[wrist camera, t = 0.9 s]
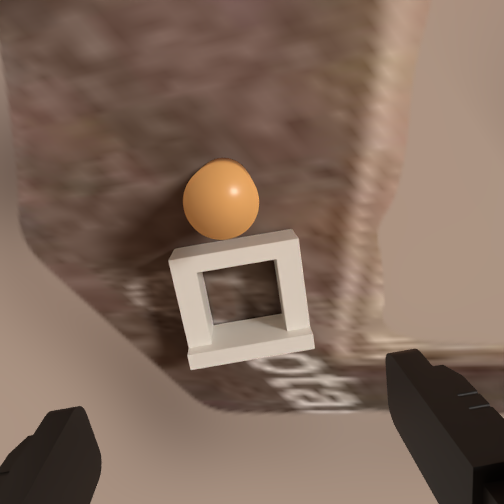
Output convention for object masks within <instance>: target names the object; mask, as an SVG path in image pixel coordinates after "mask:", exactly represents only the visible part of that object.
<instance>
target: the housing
mask: <svg viewBox="0 0 504 504" xmlns="http://www.w3.org/2000/svg"><path fill="white" fill-rule="evenodd" d="M268 260H274V265H275V271H276V278H277V284H278V291H279V298H280V304H281V311H282V314H276V315H270V316H264V317H258V318H253V319H247V320H241V321H235V322H229V323H223V324H218V325H213V321H212V316H211V311H210V306H209V301H208V297H207V292H206V287H205V282H204V278H203V273H202V272H204V271H210V270H216V269H221V268H227V267H233V266H239V265H245V264H251V263H257V262H263V261H268ZM168 262H169V266H170V270H171V274H172V279H173V283H174V287H175V291H176V296H177V300H178V304H179V308H180V313H181V317H182V321H183V325H184V330H185V334H186V338H187V343H188V347H189V349H188V354H187V356H188V360H189V365H190V369H191V370H194V369H199V368H205V367H211V366H217V365H223V364H228V363H234V362H240V361H246V360H252V359H257V358H263V357H269V356H275V355H281V354H286V353H292V352H298V351H304V350H310V349H315V346H314V338H313V333H312V330H311V328H310V323H309V315H308V307H307V300H306V292H305V284H304V277H303V269H302V261H301V253H300V246H299V238H298V237H297V236H296V234H295V233H294V231H293V230H292V229H288V230H282V231H276V232H270V233H264V234H258V235H252V236H246V237H241V238H235V239H229V240H223V241H217V242H211V243H205V244H199V245H193V246H187V247H182V248H176V249H174V251H173V252H172V254H171V256H170V258H169V260H168Z"/></svg>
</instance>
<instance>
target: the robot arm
mask: <svg viewBox="0 0 504 504" xmlns="http://www.w3.org/2000/svg"><path fill="white" fill-rule="evenodd" d="M386 376H387V393H388V405H389V410H390V414H391V417H392V420H393V422H394V425H395V427H396V429H397V431H398V432H399V434H400V436H401V438H402V439H403V441H404V443H405V445H406V447H407V448H408V450H409V452H410V454H411V455H412V457H413V459H414V461H415V463H416V464H417V466H418V468H419V470H420V471H421V473H422V475H423V477H424V478H425V480H426V482H427V484H428V486H429V487H430V489H431V491H432V493H433V494H434V496H435V498H436V500H437V502H438V503H439V504H504V418H503V417H502V416H501V415H500V414H499V413H498V412H497V411H496V410H495V409H494V408H493V407H490V405H489V403H488V402H487V401H486V400H485V399H484V398H483V396H482V395H481V394H478V393H477V390H476V389H475V388H474V387H473V386H472V385H471V384H470V383H469V382H468V381H467V380H466V379H465V378H464V377H463V376H462V375H460V374H459V373H457V372H455V371H453V370H451V369H450V368H448V367H446V366H444V365H438V366H432V365H431V364H430V363H429V361H428V360H427V359H426V358H425V357H424V356H423V355H422V353H421V352H420V351H419V350H417V349H410V350H405V351H399V352H393V353H388V354H387V355H386ZM100 473H101V453H100V450H99V447H98V444H97V442H96V439H95V436H94V433H93V430H92V428H91V425H90V422H89V419H88V416H87V414H86V412H85V410H84V408H83V407H81V406H78V407H72V408H66V409H60V410H55V411H50V412H49V413H48V414H47V415H46V416H45V417H44V419H43V421H42V422H41V424H40V425H39V427H38V428H37V430H36V431H35V433H34V434H33V435H31V436H28V437H27V438H26V439H25V440H24V441H22V442H21V443H20V444H19V445H18V446H17V447H16V448H15V449H14V450H13V451H12V452H11V453H9V455H8V456H7V457H6V459H5V460H4V462H3V463H2V465H1V466H0V504H90V502H91V499H92V497H93V494H94V491H95V488H96V486H97V483H98V481H99V477H100Z"/></svg>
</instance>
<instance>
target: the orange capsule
mask: <svg viewBox="0 0 504 504" xmlns="http://www.w3.org/2000/svg"><path fill="white" fill-rule="evenodd" d="M183 207H184V212H185V215H186V217H187V219H188V221H189V223H190V224H191V225H192V227H193V228H194V229H195V230H197V231H198V232H199V233H201V234H202V235H204V236H206V237H209V238H212V239H218V240H225V239H231V238H234V237H237V236H239V235H241V234H242V233H244V232H245V231H246V230H247V229H248V228H249V227H250V226H251V225H252V224H253V222H254V220H255V218H256V216H257V213H258V209H259V196H258V192H257V189H256V186H255V185H254V183H253V181H252V179H251V177H250V176H249V174H248V172H247V171H246V169H245V168H244V167H243V166H242V165H241V164H240V163H238V162H237V161H235V160H232V159H229V158H217V159H214V160H211V161H210V162H208V163H207V164H205V165H204V166H203V167H202V168H201V169H200V170H199V171H198V172H197V173H195V174H194V175H193V176H192V178H191V179H190V180H189V182H188V184H187V185H186V188H185V191H184V195H183Z"/></svg>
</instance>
